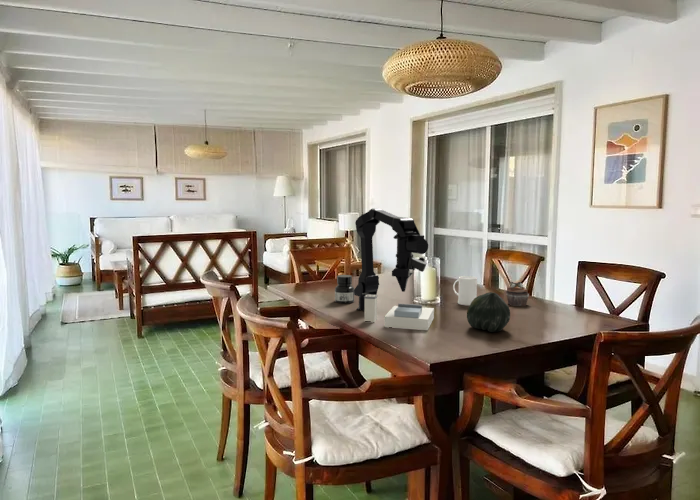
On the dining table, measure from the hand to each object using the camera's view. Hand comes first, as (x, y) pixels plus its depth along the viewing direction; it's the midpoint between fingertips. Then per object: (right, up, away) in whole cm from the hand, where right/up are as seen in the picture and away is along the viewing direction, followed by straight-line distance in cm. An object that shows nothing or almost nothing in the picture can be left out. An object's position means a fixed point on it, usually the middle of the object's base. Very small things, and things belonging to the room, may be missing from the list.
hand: (403, 291), depth 192 cm
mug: (+31, -8, +35) cm, 47 cm away
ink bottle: (-23, -8, +37) cm, 44 cm away
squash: (+30, -13, -10) cm, 34 cm away
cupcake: (+55, -9, +32) cm, 64 cm away
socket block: (+2, -12, -1) cm, 12 cm away
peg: (-13, -12, +2) cm, 17 cm away
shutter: (+1, -8, -5) cm, 10 cm away
